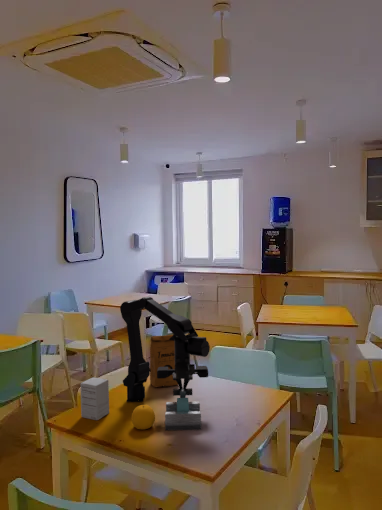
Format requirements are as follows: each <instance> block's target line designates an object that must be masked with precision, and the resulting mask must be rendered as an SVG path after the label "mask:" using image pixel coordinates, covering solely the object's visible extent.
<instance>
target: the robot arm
mask: <svg viewBox="0 0 382 510" xmlns="http://www.w3.org/2000/svg"><path fill="white" fill-rule="evenodd" d="M119 308H120V309H119V310H120V314H121V318H122V320H123V321H124V322H125V324H126V330H127V339H128V347H129V354H130V355H129V356H130V361H129V363H128V364H129V365H128V366H127V375H126V377H124V379H123V380H122V383H123V387H126V403H142V402H144V399H145V398H146V387H145V385H144V384H145V383H147V381H148V378H150V372H151V371H150V361H146V360H145V358H144V353H143V346H142V345H143V344H142V337H141V327H140V320H141V317H142V315H143V313H142V312H143V311H142V310H146V311H147V312H149V313H150V314H151V315H153V316H154V317H156V318H157V319H159V320H160V321H161V322H163V323H164V324H165V325H166V326H167V329H168V330H169V331H170V332H171V333H172V335H173V336H172V337H171V338H170V339H169V340H171V341H174V346H175V369H169V370H168V367H159V368H158V369H157V378H158V379H161V378H166V377H167V376H168V375H173V380H176V382H177V383H178V385H177V386H178V389H187V386H188V384H189V382H190V381H191V380H193V376H194V375H197V377H199V378H202V379H203V378H209V367H208V366H207V365H197V366H196V367H195V363H194V364H193V363H191V356H194V357H195V356H197V357H203V358H206V357H208V355H209V353H210V350H211V348H210V347H211V346H210V343H209V341H207V337H204V336H199V334H198V333H197V331H196V330H195V328H194V326H193V324H192V321H191V320H190V319H189V318H188V317H185V316H183V315H179V314H175V313H173V312H172V311H170V310H169V309H167V308H166V307H165V306H164V305H162V304H160V303H159V302H157V301H156V300H155V299H154V298H153V297H152V296H144V297H142V298H140V299H133V300H126V301H123V302H122V303H121V305H120V307H119ZM182 380H183V382H182Z"/></svg>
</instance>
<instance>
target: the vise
mask: <svg viewBox="0 0 382 510" xmlns="http://www.w3.org/2000/svg"><path fill="white" fill-rule="evenodd" d="M201 412H202V411H201V410H200V411H185V412H166V411H165V412H164V416H165V417H164V430H165V431H186V430H189V431H192V430H194V431H195V430H199V431H200V430H202V413H201Z"/></svg>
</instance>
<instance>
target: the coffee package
mask: <svg viewBox="0 0 382 510" xmlns="http://www.w3.org/2000/svg"><path fill="white" fill-rule="evenodd" d="M172 336H173V334H168V335H167V334H166V335H155V336H150V347H149V359H150V360H149V367H150V371H151V372H150V375H149V382H150V384H151V385H152V387H154V388H159V387H161V388H162V386H163V387H171V386H179V385H178V383H177V382H176V380H173V375H168V376H167V377H166V378H161V379H158V378H157V369H158V368H159V367H168V370H169V369H175V346H174V341H171V340H169V339H170V338H171V337H172Z"/></svg>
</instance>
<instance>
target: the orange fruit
mask: <svg viewBox="0 0 382 510" xmlns="http://www.w3.org/2000/svg"><path fill="white" fill-rule="evenodd" d="M130 417H131V422H132V425H133V426H134V427H135V428H136V429H138V430H147V429H150V428H151V427H152V426H154V423H155V422H156V421H155V420H156V414H155V411H154V409H153V408H152V407H151V406H150V405H148V404H141V405H138V406H136V407H135V408H134V410H133V411H132V412H131V416H130Z"/></svg>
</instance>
